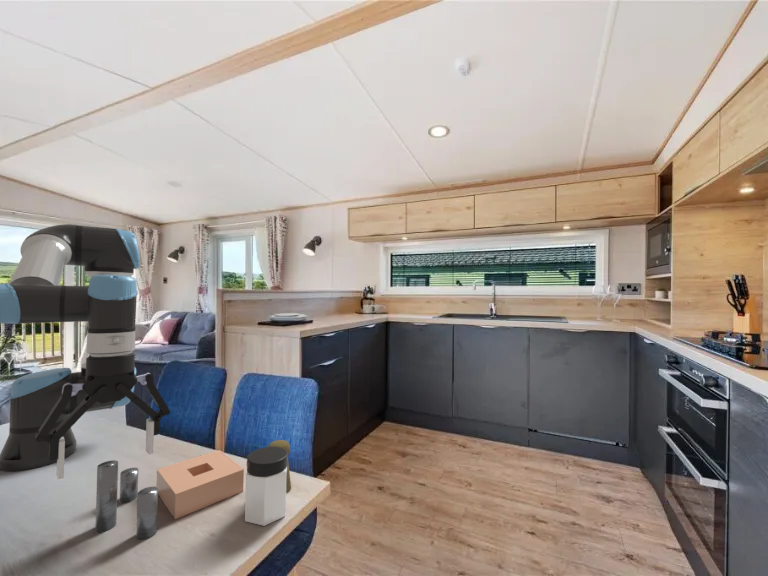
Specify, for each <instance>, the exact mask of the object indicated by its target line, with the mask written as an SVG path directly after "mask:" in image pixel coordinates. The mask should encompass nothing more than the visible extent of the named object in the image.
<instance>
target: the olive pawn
mask: <svg viewBox="0 0 768 576" xmlns="http://www.w3.org/2000/svg"><path fill="white" fill-rule="evenodd" d="M267 447H281V448H284V449H285V450H286V451H287V452H288V456H289V455H290V452H291V444H290V442H288V440H286V439H285V440H284V439H278V440H276V439H275V440H273V441H271V442H270V443H269V444H268V446H267ZM291 490H292V481H291V475H290V463H289V462H288V464H287V494H288V493H289V492H290V491H291Z"/></svg>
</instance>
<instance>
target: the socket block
mask: <svg viewBox="0 0 768 576" xmlns="http://www.w3.org/2000/svg"><path fill="white" fill-rule="evenodd" d="M244 472H245V471H244V468H243V467H241V466H240V465H239V464H238V463H237V462H235V461H234V460H233V459H232V458H231V457H229V456H228V455H227V454H225V453H224V452H223V451H222V450H221V449H219V450H215V451H212V452H209V453H206V454H203V455H198V456H196V457H192V458H189V459H185V460H183V461H180V462H177V463H172V464H169V465H166V466H163V467H160V468H157V469H156V486H155V487H157V488H158V497H160V499H161V500H162V502H163V504H164V506H166V508H167V510H168V511H169V512H170V514H171V516H172V517H173V518H174V520H177V519H179V518H182V517H184V516H186V515H190V514H191V513H193V512H196V511H198V510H200V509H203V508H206V507H208V506H210V505H214V504H215V503H218V502H220V501H223V500H225V499H228V498H230V497H232V496H234V495H238V494H240V493H242V492H244V480H245V479H244V478H245V477H244V475H245V474H244Z"/></svg>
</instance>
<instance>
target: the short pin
mask: <svg viewBox="0 0 768 576" xmlns="http://www.w3.org/2000/svg"><path fill="white" fill-rule="evenodd" d="M119 480H120V481H119V503H121V504H127V503H131V502H133V501H134V500H136V499H137V494H138V492H139V489H138V488H139V468H138V467H130V468H125V469H124V470H122V471H121V472H120V478H119Z"/></svg>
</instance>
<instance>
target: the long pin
mask: <svg viewBox="0 0 768 576" xmlns="http://www.w3.org/2000/svg"><path fill="white" fill-rule="evenodd" d="M96 467H97V469H96V491H95V492H96V497H95V498H96V500H95V525H94V526H95V527H94V528H95V529H94V530H95V532H96V533H103V532H107V531H109V530H112V529H113V528H114V527H115V526H116V525H117V519H118V518H117V517H118V516H117V515H118V512H117V511H118V508H117V507H118V487H119V485H118V483H119V482H118V481H119V461H118V460H116V459H115V460H107V461H104V462H102V463H99V464H98V465H97V466H96Z"/></svg>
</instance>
